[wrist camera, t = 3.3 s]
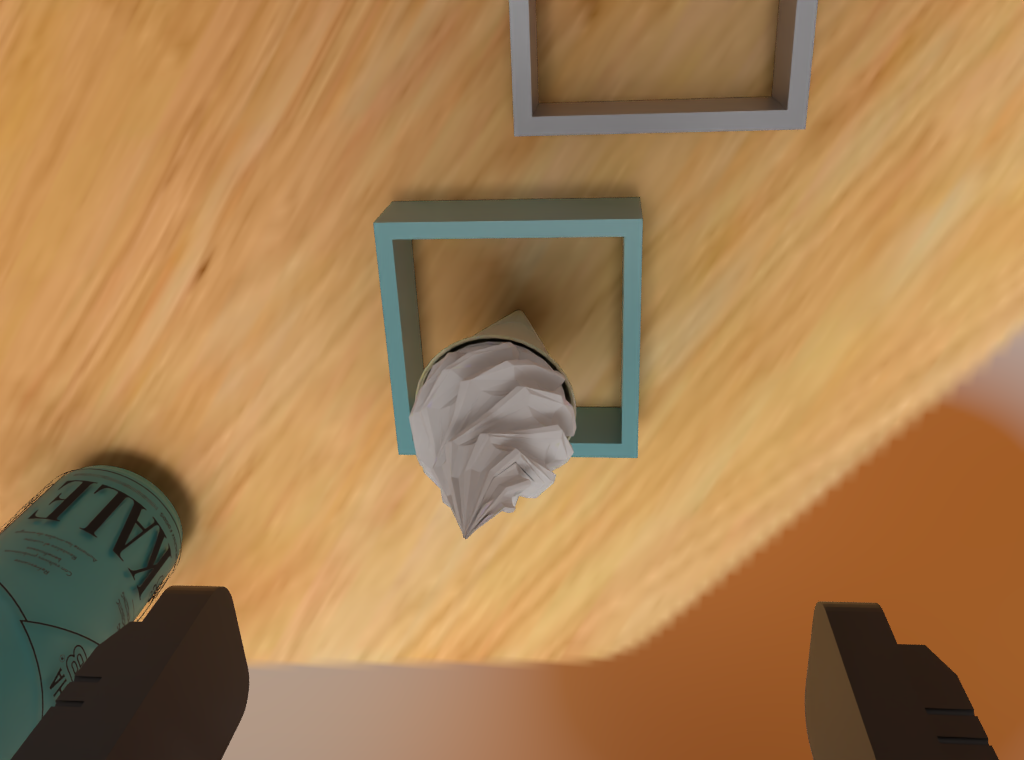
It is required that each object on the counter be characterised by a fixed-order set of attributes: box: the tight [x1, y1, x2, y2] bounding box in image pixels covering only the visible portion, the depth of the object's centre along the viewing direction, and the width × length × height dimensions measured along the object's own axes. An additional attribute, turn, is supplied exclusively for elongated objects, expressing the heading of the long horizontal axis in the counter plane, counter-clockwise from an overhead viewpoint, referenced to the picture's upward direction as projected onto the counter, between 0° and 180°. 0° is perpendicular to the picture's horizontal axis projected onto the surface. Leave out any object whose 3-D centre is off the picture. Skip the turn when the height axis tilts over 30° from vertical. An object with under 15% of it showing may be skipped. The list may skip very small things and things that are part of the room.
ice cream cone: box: [409, 310, 576, 539], centre depth 28 cm, size 5×5×15 cm
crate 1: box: [373, 197, 643, 458], centre depth 33 cm, size 9×9×3 cm
